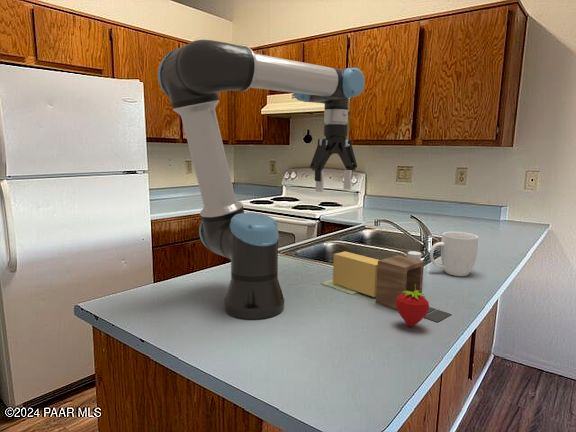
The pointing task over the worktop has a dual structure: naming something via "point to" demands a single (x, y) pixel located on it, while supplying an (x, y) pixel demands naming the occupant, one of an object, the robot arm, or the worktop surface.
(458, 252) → the mug
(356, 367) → the worktop surface
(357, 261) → the tan rectangular block
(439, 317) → the dark grey flat pad
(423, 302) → the strawberry
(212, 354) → the worktop surface
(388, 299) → the tunnel
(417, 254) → the pill bottle
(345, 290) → the pad
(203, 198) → the robot arm
